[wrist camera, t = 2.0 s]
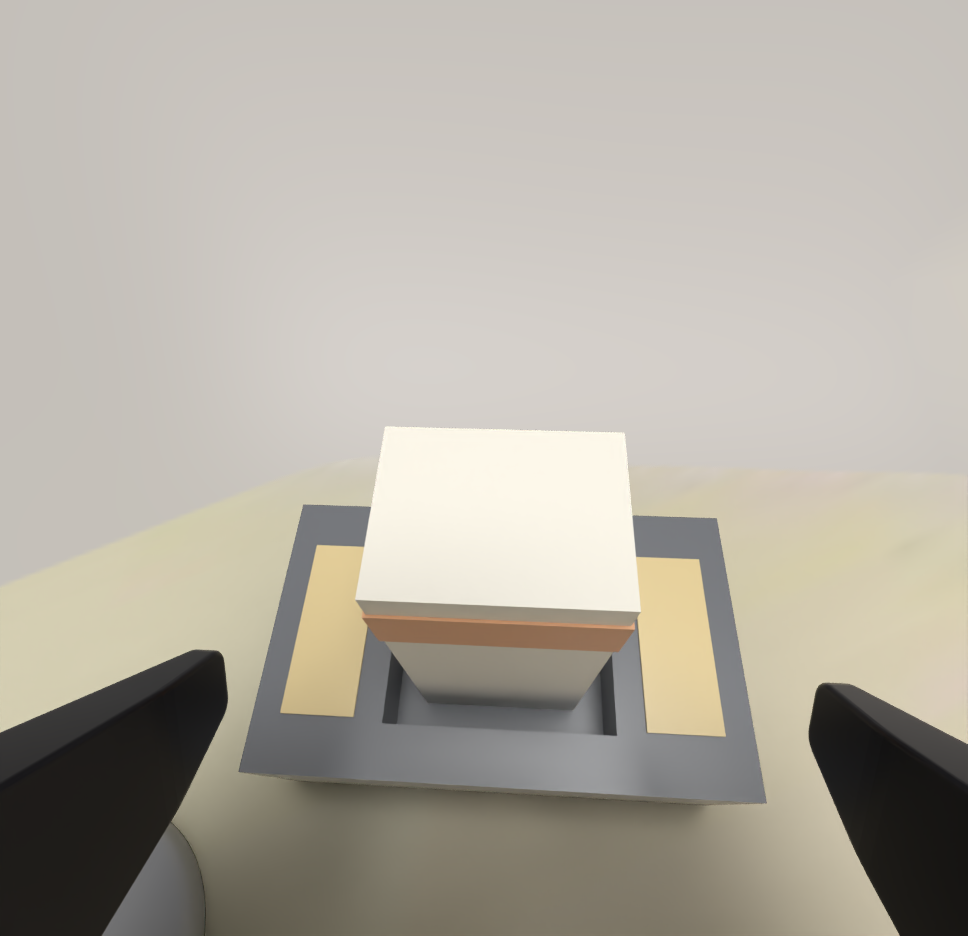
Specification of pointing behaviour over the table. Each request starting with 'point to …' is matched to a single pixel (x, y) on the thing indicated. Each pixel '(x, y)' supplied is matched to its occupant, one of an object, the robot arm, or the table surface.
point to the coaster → (164, 894)
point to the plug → (501, 562)
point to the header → (508, 730)
